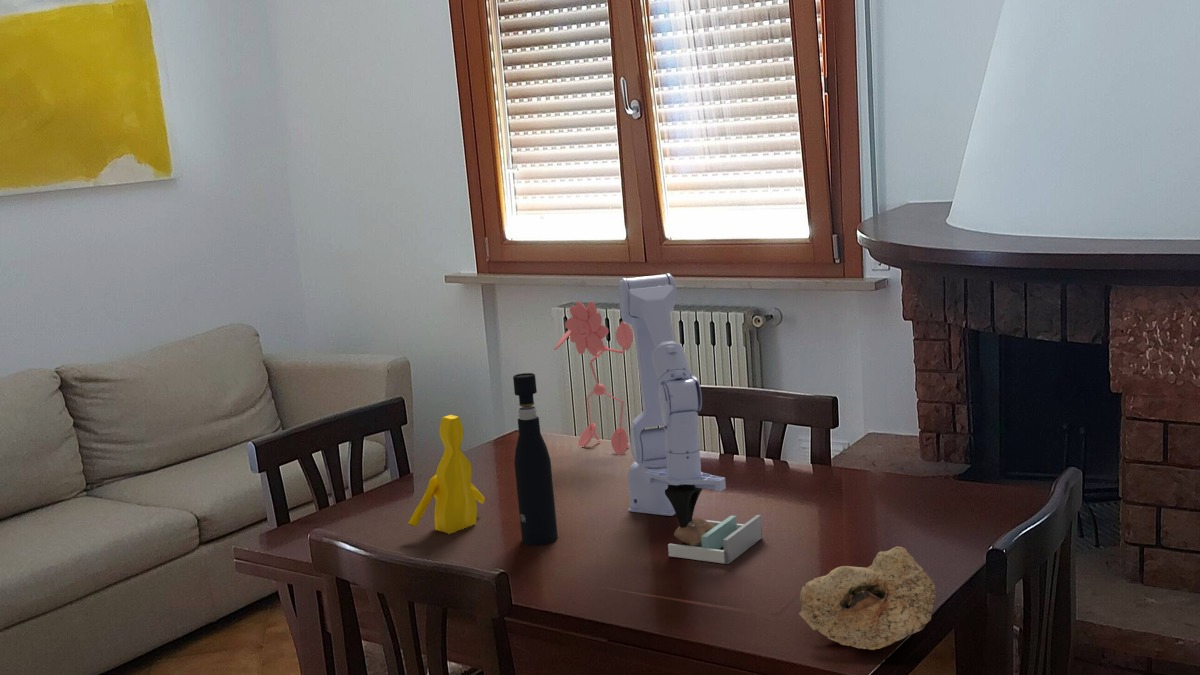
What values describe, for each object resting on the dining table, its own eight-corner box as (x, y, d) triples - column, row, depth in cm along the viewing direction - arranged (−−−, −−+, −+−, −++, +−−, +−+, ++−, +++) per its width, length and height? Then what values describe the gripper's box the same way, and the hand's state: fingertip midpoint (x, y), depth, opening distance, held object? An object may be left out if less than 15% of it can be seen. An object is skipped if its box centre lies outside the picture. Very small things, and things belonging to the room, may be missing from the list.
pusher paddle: (702, 556, 191) (701, 536, 191) (732, 534, 201) (731, 515, 200) (708, 557, 191) (706, 537, 190) (737, 535, 200) (736, 515, 200)
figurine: (579, 441, 275) (566, 294, 269) (659, 456, 256) (647, 298, 250) (530, 457, 264) (515, 305, 259) (609, 473, 246) (595, 309, 240)
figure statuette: (479, 513, 226) (467, 402, 223) (505, 519, 221) (493, 406, 217) (404, 539, 214) (390, 423, 210) (429, 547, 208) (416, 428, 205)
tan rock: (854, 697, 153) (843, 657, 149) (795, 632, 165) (784, 594, 161) (965, 630, 157) (957, 589, 153) (899, 571, 169) (891, 532, 165)
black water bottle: (563, 534, 209) (547, 371, 204) (550, 546, 203) (534, 378, 198) (530, 533, 211) (514, 371, 207) (516, 545, 205) (499, 379, 201)
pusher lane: (668, 556, 194) (667, 533, 193) (705, 530, 205) (703, 508, 204) (728, 564, 188) (726, 540, 187) (762, 537, 199) (761, 515, 198)
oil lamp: (662, 552, 197) (703, 564, 192) (661, 531, 196) (702, 542, 191) (690, 529, 204) (730, 539, 199) (689, 508, 202) (729, 519, 198)
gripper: (633, 451, 197) (638, 529, 199) (709, 459, 189) (714, 539, 191) (655, 441, 202) (659, 516, 205) (729, 448, 194) (733, 526, 197)
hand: (687, 527), depth 198 cm, fingers closed on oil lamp
